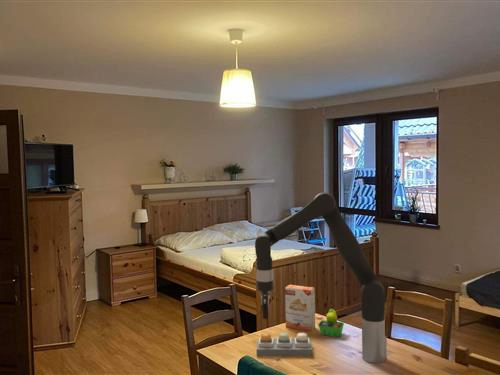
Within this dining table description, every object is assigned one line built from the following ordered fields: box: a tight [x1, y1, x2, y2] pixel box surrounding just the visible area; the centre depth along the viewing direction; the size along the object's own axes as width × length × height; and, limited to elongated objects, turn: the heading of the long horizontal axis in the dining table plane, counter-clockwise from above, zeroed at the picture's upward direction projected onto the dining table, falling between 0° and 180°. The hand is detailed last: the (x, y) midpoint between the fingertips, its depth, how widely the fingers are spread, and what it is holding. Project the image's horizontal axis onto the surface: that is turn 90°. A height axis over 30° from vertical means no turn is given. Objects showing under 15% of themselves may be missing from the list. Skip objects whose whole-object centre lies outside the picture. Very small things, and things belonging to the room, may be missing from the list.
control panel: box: [256, 337, 313, 357], centre depth 197 cm, size 24×12×4 cm, turn 87°
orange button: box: [260, 332, 272, 341], centre depth 197 cm, size 4×4×2 cm
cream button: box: [296, 332, 308, 341], centre depth 196 cm, size 4×4×2 cm
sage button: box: [278, 332, 290, 341], centre depth 197 cm, size 4×4×2 cm
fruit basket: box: [318, 308, 345, 338], centre depth 215 cm, size 11×9×11 cm
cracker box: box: [284, 284, 316, 332], centre depth 223 cm, size 14×6×21 cm, turn 62°
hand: (265, 317), depth 197 cm, fingers open, 3 cm apart
